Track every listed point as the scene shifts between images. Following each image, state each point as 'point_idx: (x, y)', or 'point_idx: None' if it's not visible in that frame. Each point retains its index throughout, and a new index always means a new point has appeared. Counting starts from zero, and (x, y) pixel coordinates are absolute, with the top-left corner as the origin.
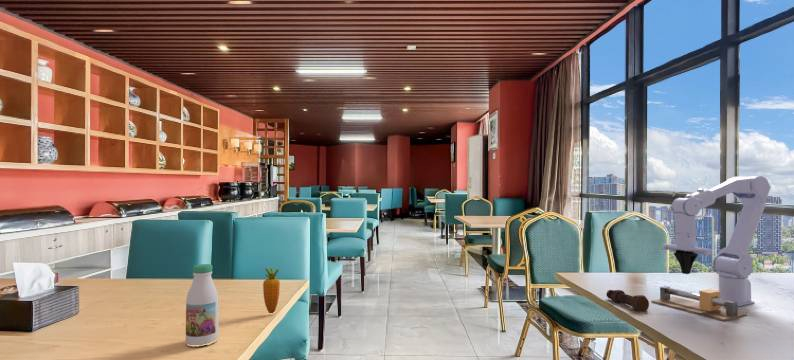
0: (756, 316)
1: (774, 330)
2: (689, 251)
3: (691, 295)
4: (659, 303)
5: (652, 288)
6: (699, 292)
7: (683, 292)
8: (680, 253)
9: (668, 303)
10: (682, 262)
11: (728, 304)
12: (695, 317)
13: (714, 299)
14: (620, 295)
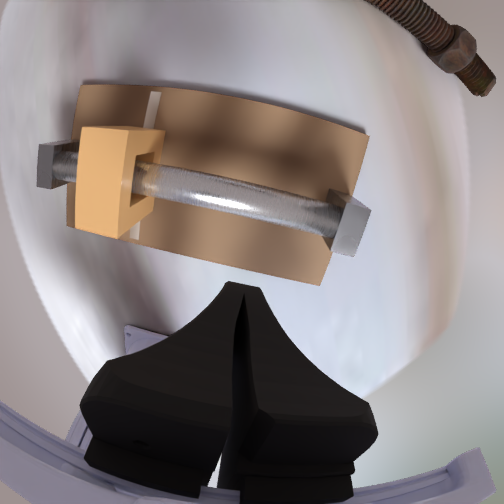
0: (58, 239)
1: (8, 128)
2: (149, 488)
3: (197, 172)
4: (331, 122)
5: (393, 358)
6: (132, 131)
7: (242, 188)
8: (271, 444)
9: (299, 137)
10: (249, 342)
11: (53, 143)
12: (159, 41)
13: None
14: (441, 18)
